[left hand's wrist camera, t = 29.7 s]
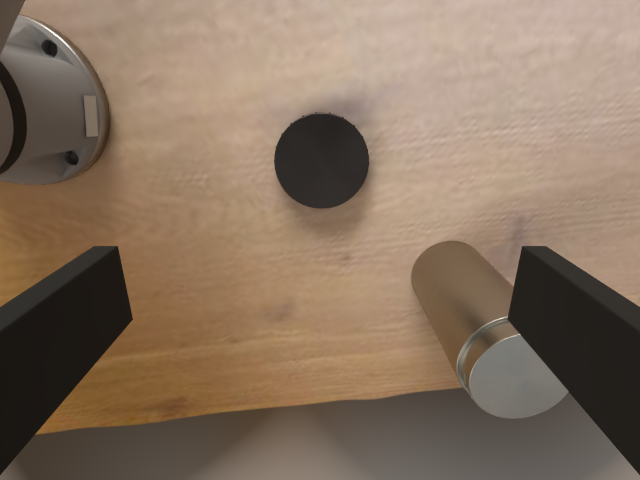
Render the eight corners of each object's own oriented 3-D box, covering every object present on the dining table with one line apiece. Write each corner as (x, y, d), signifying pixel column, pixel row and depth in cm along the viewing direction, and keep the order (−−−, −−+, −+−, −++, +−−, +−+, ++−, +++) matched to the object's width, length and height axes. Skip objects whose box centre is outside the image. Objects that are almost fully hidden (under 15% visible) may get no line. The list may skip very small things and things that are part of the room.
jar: (427, 316, 45) (486, 436, 29) (399, 260, 42) (448, 358, 26) (493, 288, 44) (594, 396, 28) (469, 228, 41) (564, 310, 25)
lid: (363, 106, 36) (365, 106, 35) (369, 199, 40) (372, 204, 38) (269, 117, 37) (266, 118, 35) (283, 208, 40) (281, 213, 38)
